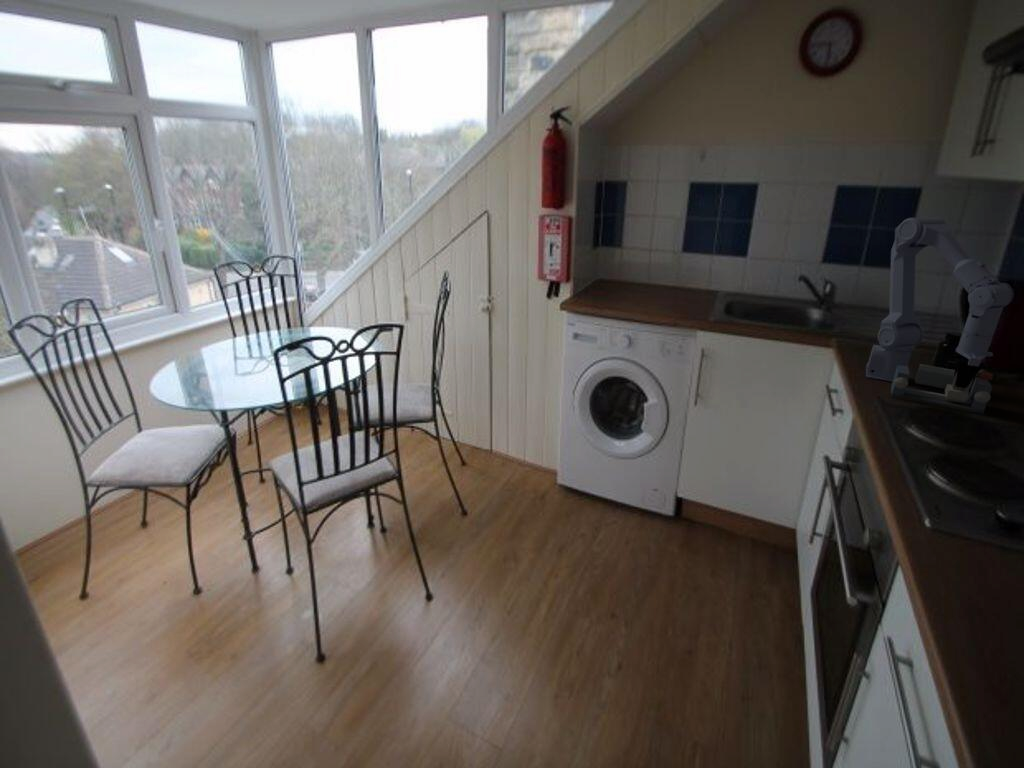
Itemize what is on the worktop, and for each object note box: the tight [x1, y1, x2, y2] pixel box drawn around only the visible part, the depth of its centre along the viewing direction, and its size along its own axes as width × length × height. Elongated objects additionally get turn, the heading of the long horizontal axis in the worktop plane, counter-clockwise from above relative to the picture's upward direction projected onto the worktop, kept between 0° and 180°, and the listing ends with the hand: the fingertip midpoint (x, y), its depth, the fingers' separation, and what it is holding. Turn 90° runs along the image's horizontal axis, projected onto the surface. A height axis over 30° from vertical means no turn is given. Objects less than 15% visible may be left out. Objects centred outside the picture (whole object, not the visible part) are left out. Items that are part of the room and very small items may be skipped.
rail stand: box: [890, 365, 993, 415], centre depth 139 cm, size 20×8×7 cm, turn 58°
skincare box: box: [914, 363, 974, 393], centre depth 149 cm, size 6×4×12 cm
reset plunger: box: [978, 371, 994, 381], centre depth 133 cm, size 2×2×1 cm
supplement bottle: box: [930, 331, 963, 370], centre depth 157 cm, size 7×7×12 cm
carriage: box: [944, 372, 970, 403], centre depth 136 cm, size 4×5×7 cm
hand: (960, 384), depth 136 cm, fingers open, 3 cm apart
